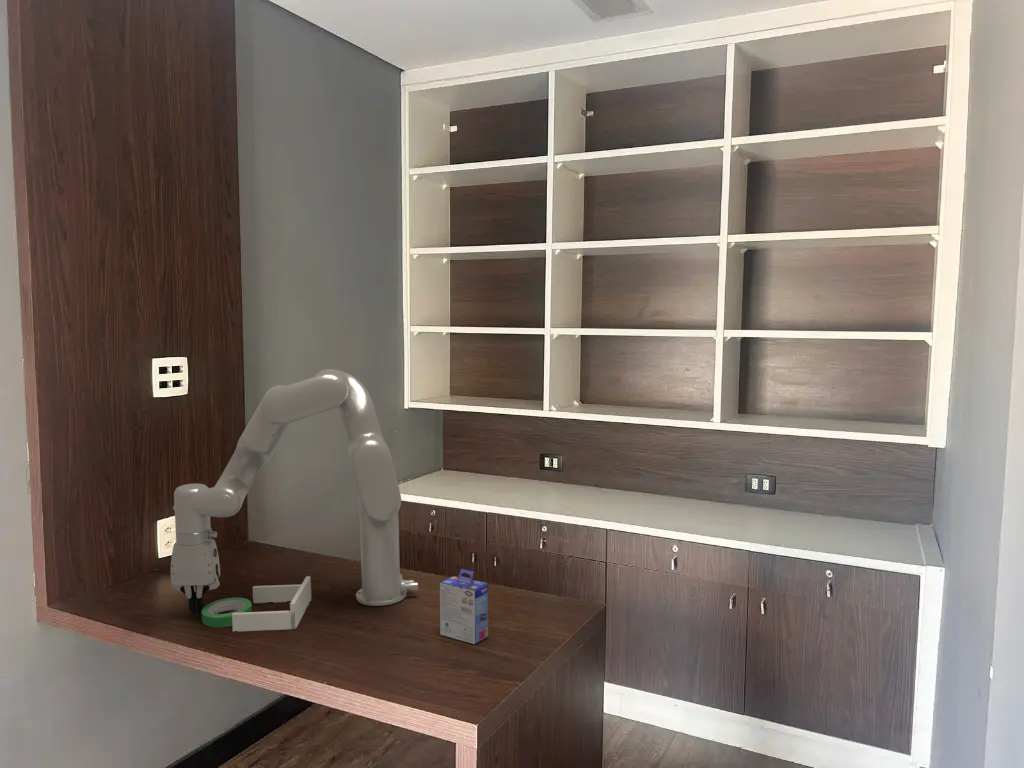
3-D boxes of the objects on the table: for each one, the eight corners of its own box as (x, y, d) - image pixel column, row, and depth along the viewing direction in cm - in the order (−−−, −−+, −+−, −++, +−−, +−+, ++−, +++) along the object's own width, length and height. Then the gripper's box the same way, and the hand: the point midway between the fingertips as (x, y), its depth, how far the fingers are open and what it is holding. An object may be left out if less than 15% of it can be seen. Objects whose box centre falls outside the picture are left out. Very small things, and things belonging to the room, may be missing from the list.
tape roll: (233, 629, 163) (233, 618, 163) (191, 625, 166) (191, 614, 166) (261, 609, 174) (260, 599, 174) (221, 606, 177) (221, 595, 176)
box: (311, 599, 180) (310, 576, 179) (295, 629, 163) (294, 603, 162) (254, 601, 179) (253, 578, 178) (232, 631, 162) (231, 606, 161)
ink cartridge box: (490, 635, 158) (489, 572, 157) (476, 645, 154) (474, 580, 152) (454, 626, 163) (452, 564, 162) (439, 635, 159) (437, 572, 157)
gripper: (231, 531, 172) (234, 605, 174) (167, 532, 171) (170, 606, 173) (220, 541, 165) (223, 618, 166) (153, 542, 164) (157, 620, 165)
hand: (196, 612), depth 170 cm, fingers closed
